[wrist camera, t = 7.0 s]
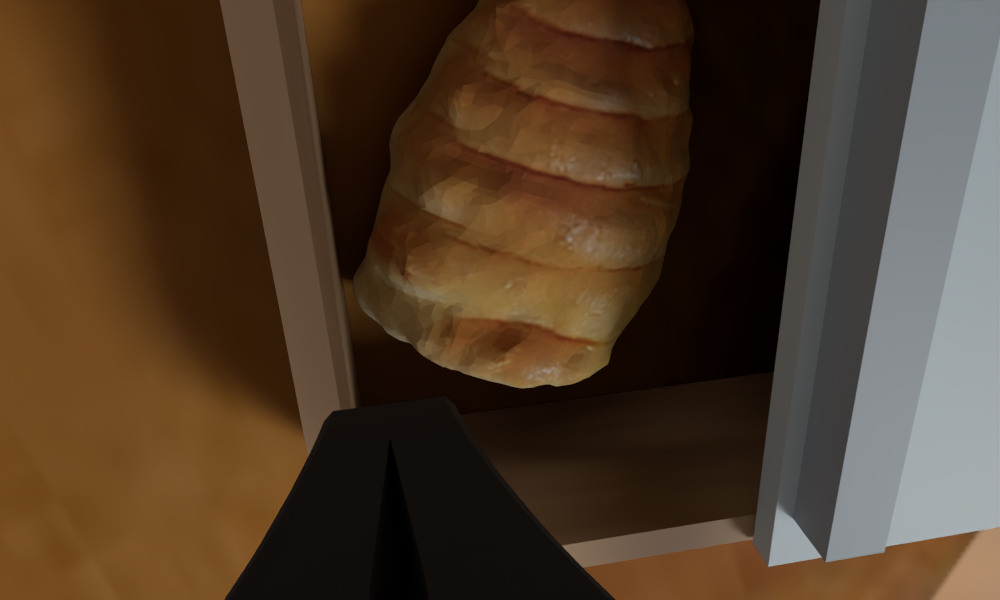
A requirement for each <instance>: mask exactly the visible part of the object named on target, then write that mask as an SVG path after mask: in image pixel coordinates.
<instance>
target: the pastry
mask: <svg viewBox="0 0 1000 600" xmlns="http://www.w3.org/2000/svg"><path fill="white" fill-rule="evenodd" d="M693 43H694V27H693V22H692V18H691V12H690V9H689V6H688V4H687V3H686V1H685V0H479V1H478V3H477V5H476V7H475V9H474V10H473V11H472V12H471V13H470V14H469V15H468V16H467V17H466V18H465V19H464V20H463V21H462V22H461V23H460V24H459V25H458V26H457V27H456V28H455V29H454V30H453V31H452V32H451V33H450V34H449V35H448V37H447V39H446V41H445V44H444V46H443V47H442V49H441V51H440V52H439V54H438V56H437V58H436V60H435V62H434V64H433V67H432V70H431V73H430V75H429V77H428V79H427V80H426V82H425V83H424V85H423V86H422V88H421V89H420V91H419V93H418V95H417V97H416V98H415V99H414V100H413V102H412V103H411V104H410V105H409V106H408V108H407V109H406V110H405V111H404V112H403V113H402V114H401V115H400V116H399V118H398V120H397V122H396V123H395V125H394V128H393V130H392V133H391V137H390V143H389V148H390V158H391V168H390V173H389V175H388V177H387V179H386V182H385V185H384V188H383V191H382V194H381V199H380V205H379V207H378V211H377V215H376V219H375V223H374V227H373V231H372V234H371V236H370V239H369V242H368V248H367V252H366V256H365V258H364V259H363V261H362V263H361V265H360V266H359V268H358V270H357V271H356V273H355V275H354V279H353V283H352V284H353V292H354V295H355V298H356V300H357V302H358V304H359V306H360V307H361V309H362V311H364V312H365V313H366V314H367V315H368V316H370V317H371V318H372V319H374V320H375V321H376V322H378V323H379V324H380V325H382V327H383V328H384V330H385V331H386V333H388V334H390V335H391V336H393V337H395V338H397V339H398V340H400V341H404V342H408V343H410V344H412V345H413V347H414V348H415V349H416V350H417V351H418V352H419V353H420V354H422V355H423V356H424V357H426V358H427V359H429V360H431V361H432V362H434V363H436V364H438V365H440V366H442V367H447V368H449V369H451V370H457V371H460V372H462V373H464V374H467V375H470V376H473V377H477V378H480V379H484V380H487V381H492V382H496V383H501V384H505V385H508V386H512V387H516V388H532V387H536V386H540V385H545V384H550V385H553V386H563V385H570V384H574V383H577V382H579V381H581V380H583V379H586V378H589V377H590V376H591V375H593V374H594V373H596V372H597V371H598V370H600V369H601V368H603V367H604V366H606V365H607V364H608V363H609V360H610V355H611V350H612V347H613V345H614V343H615V342H616V340H617V338H618V337H619V335H620V334H621V333H622V331H623V330H624V328H625V327H626V326H627V324H628V323H629V322H630V321H631V319H632V318H633V317H634V316H635V315H636V313H637V311H638V310H639V308H640V306H641V304H642V303H643V302H644V301H645V300H646V299H647V298H648V297H649V295H650V292H651V291H652V289H653V288H654V286H655V285H656V283H657V281H658V280H659V276H660V273H661V269H662V264H663V259H664V256H665V253H666V248H667V243H668V239H669V237H670V234H671V233H672V231H673V229H674V227H675V225H676V222H677V218H678V215H679V212H680V208H681V205H682V193H683V187H684V183H685V180H686V178H687V175H688V172H689V169H690V155H689V140H690V136H691V130H692V125H693V116H692V113H691V110H690V105H689V97H690V89H689V80H690V72H691V64H692V60H691V55H692V47H693Z"/></svg>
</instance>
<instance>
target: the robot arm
mask: <svg viewBox="0 0 1000 600" xmlns="http://www.w3.org/2000/svg"><path fill="white" fill-rule="evenodd" d="M225 600H615V599H614V598H613V597H612V596H611V595H610V594H609V593H608V592H607V591H606V590H605V589H604V588H603V587H602V586H601V585H600V584H599V583H598V582H597V581H596V580H595V579H594V578H593V577H592V576H591V575H590V574H589V573H587V572H586V571H585V569H584V568H583V567H582V566H581V565H580V564H579V563H578V562H577V561H576V560H575V559H574V558H573V557H572V556H571V555H570V554H569V553H568V552H567V551H566V550H565V549H564V548H563V547H562V545H561V544H560V543H559V542H558V541H557V540H556V539H555V538H554V537H553V536H552V535H551V534H550V533H549V531H548V530H547V529H546V528H545V527H544V526H543V525H542V524H541V522H540V521H539V520H538V519H537V518H536V517H535V516H534V514H533V513H532V512H531V511H530V510H529V508H528V507H527V506H526V505H525V504H524V502H523V501H522V500H521V499H520V498H519V496H518V495H517V494H516V493H515V492H514V490H513V489H512V488H511V487H510V486H509V484H508V483H507V482H506V481H505V480H504V478H503V477H502V476H501V474H500V473H499V472H498V470H497V469H496V468H495V466H494V465H493V464H492V462H491V461H490V460H489V458H488V457H487V455H486V454H485V453H484V451H483V450H482V448H481V447H480V446H479V444H478V443H477V441H476V440H475V438H474V437H473V435H472V434H471V432H470V431H469V429H468V427H467V426H466V424H465V423H464V421H463V419H462V417H461V415H460V414H459V412H458V410H457V408H456V405H455V404H454V403H453V402H451V401H450V400H449V399H447V398H446V397H445V396H442V397H435V398H427V399H420V400H412V401H405V402H397V403H390V404H382V405H375V406H367V407H360V408H352V409H345V410H337V411H333V412H332V413H331V414H330V415H329V416H328V417H327V418H326V419H325V421H324V422H323V425H322V427H321V430H320V432H319V434H318V437H317V439H316V441H315V443H314V446H313V448H312V450H311V452H310V454H309V456H308V458H307V460H306V462H305V464H304V466H303V468H302V470H301V472H300V474H299V476H298V478H297V480H296V482H295V484H294V486H293V488H292V490H291V491H290V493H289V495H288V497H287V499H286V500H285V502H284V504H283V506H282V507H281V509H280V511H279V513H278V514H277V516H276V518H275V519H274V521H273V523H272V525H271V526H270V528H269V530H268V532H267V533H266V535H265V537H264V539H263V540H262V542H261V544H260V545H259V547H258V549H257V550H256V552H255V554H254V555H253V557H252V558H251V560H250V562H249V563H248V565H247V566H246V568H245V569H244V571H243V572H242V574H241V575H240V577H239V578H238V580H237V581H236V583H235V584H234V586H233V587H232V589H231V590H230V592H229V593H228V595H227V596H226V598H225Z"/></svg>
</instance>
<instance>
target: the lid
mask: <svg viewBox="0 0 1000 600" xmlns="http://www.w3.org/2000/svg"><path fill="white" fill-rule="evenodd" d="M996 527H1000V0H821V1H820V9H819V17H818V25H817V33H816V41H815V49H814V57H813V65H812V73H811V81H810V89H809V97H808V105H807V113H806V121H805V129H804V137H803V145H802V153H801V161H800V169H799V177H798V185H797V193H796V201H795V209H794V217H793V225H792V233H791V241H790V249H789V257H788V265H787V273H786V281H785V289H784V297H783V305H782V313H781V321H780V329H779V337H778V345H777V353H776V361H775V369H774V377H773V385H772V393H771V401H770V409H769V417H768V425H767V433H766V441H765V449H764V457H763V465H762V473H761V481H760V489H759V497H758V505H757V513H756V521H755V529H754V537H753V544H754V546H755V547H756V549H757V550H758V552H759V553H760V555H761V556H762V558H763V559H764V561H765V562H766V564H767V565H768V567H769V566H775V565H781V564H787V563H793V562H798V561H804V560H810V559H816V558H823V559H824V561H825V562H830V561H835V560H841V559H847V558H853V557H859V556H864V555H870V554H876V553H882V552H885V547H886V546H892V545H897V544H903V543H909V542H915V541H921V540H926V539H932V538H938V537H944V536H950V535H956V534H961V533H967V532H973V531H979V530H985V529H990V528H996Z"/></svg>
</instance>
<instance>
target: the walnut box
mask: <svg viewBox="0 0 1000 600" xmlns="http://www.w3.org/2000/svg"><path fill="white" fill-rule="evenodd" d="M220 5H221V10H222V15H223V20H224V25H225V30H226V36H227V41H228V46H229V51H230V56H231V61H232V67H233V72H234V77H235V82H236V87H237V92H238V98H239V103H240V108H241V113H242V118H243V123H244V129H245V134H246V139H247V144H248V149H249V154H250V160H251V165H252V170H253V175H254V180H255V185H256V191H257V196H258V201H259V206H260V211H261V216H262V222H263V227H264V232H265V237H266V242H267V247H268V253H269V258H270V263H271V268H272V273H273V278H274V284H275V289H276V294H277V299H278V304H279V309H280V315H281V320H282V325H283V330H284V335H285V340H286V346H287V351H288V356H289V361H290V366H291V371H292V377H293V382H294V387H295V392H296V397H297V402H298V408H299V413H300V418H301V423H302V428H303V433H304V439H305V444H306V449H307V454H308V456H309V454H310V452H311V450H312V448H313V446H314V443H315V441H316V439H317V437H318V434H319V432H320V430H321V427H322V425H323V422H324V421H325V419H326V418H327V417H328V416H329V415H330V414H331V413H332V412H333V411H337V410H345V409H352V408H360V407H362V405H361V398H360V392H359V385H358V378H357V372H356V365H355V359H354V352H353V345H352V339H351V332H350V325H349V319H348V312H347V305H346V299H345V292H344V286H343V279H342V272H341V266H340V259H339V252H338V246H337V239H336V233H335V226H334V219H333V213H332V206H331V199H330V193H329V186H328V179H327V173H326V166H325V160H324V153H323V146H322V140H321V133H320V126H319V120H318V113H317V106H316V100H315V93H314V87H313V80H312V73H311V67H310V60H309V53H308V47H307V40H306V33H305V27H304V20H303V14H302V7H301V0H220ZM773 377H774V372H768V373H761V374H754V375H746V376H739V377H732V378H724V379H717V380H710V381H702V382H695V383H688V384H680V385H673V386H666V387H658V388H651V389H644V390H637V391H629V392H622V393H615V394H607V395H600V396H593V397H585V398H578V399H571V400H563V401H556V402H549V403H541V404H534V405H527V406H519V407H512V408H505V409H498V410H490V411H483V412H476V413H468V414H461V417H462V419H463V421H464V423H465V424H466V426H467V427H468V429H469V431H470V432H471V434H472V435H473V437H474V438H475V440H476V441H477V443H478V444H479V446H480V447H481V448H482V450H483V451H484V453H485V454H486V455H487V457H488V458H489V460H490V461H491V462H492V464H493V465H494V466H495V468H496V469H497V470H498V472H499V473H500V474H501V476H502V477H503V478H504V480H505V481H506V482H507V483H508V484H509V486H510V487H511V488H512V489H513V490H514V492H515V493H516V494H517V495H518V496H519V498H520V499H521V500H522V501H523V502H524V504H525V505H526V506H527V507H528V508H529V510H530V511H531V512H532V513H533V514H534V516H535V517H536V518H537V519H538V520H539V521H540V522H541V524H542V525H543V526H544V527H545V528H546V529H547V530H548V531H549V533H550V534H551V535H552V536H553V537H554V538H555V539H556V540H557V541H558V542H559V543H560V544H561V545H562V547H563V548H564V549H565V550H566V551H567V552H568V553H569V554H570V555H571V556H572V557H573V558H574V559H575V560H576V561H577V562H578V563H579V564H580V565H581V566H582V567H589V566H595V565H601V564H607V563H613V562H619V561H625V560H631V559H637V558H643V557H649V556H655V555H661V554H667V553H673V552H679V551H685V550H691V549H697V548H703V547H709V546H715V545H721V544H727V543H733V542H739V541H745V540H751V539H753V537H754V529H755V521H756V513H757V505H758V497H759V489H760V481H761V473H762V465H763V457H764V449H765V441H766V433H767V425H768V417H769V409H770V401H771V393H772V385H773Z"/></svg>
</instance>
